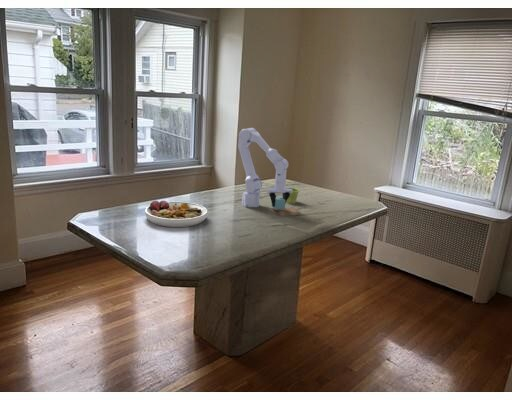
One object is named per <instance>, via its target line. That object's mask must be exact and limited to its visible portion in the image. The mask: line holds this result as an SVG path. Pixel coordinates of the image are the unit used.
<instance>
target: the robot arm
mask: <svg viewBox="0 0 512 400" xmlns="http://www.w3.org/2000/svg"><path fill="white" fill-rule="evenodd" d="M252 143H256V144H257V145H258V146H259V147H260V148H261V150H263V151H264V152H265V156H266V158H268V159H269V160H270V162H271V163H272V164H273V165H274V168H275V179H274V188H268V189H266V190H265V191H266V193H265V194H267V195H268V196H269V197H270V200H271V201H270V202H271V207H272V206H273V207H275V199H276V197H277V194H282V198H283V199H285V205H286V204H287V203H286V201H287V199H288V198H289V196H290V194H289V193H292V191H293V190H292V189H285V188H286V185H287V184H286V183H287V171H288V170H287V169H288V168H289V161H288V159H286V158H284V156H282V155H281V154H280V153H279V152H278V150H277V149H275V148H271V147H270V146H269V144H268V143H267V142H266V140H265V139H264V138H263V136H261V134H260V132H259V131H257V130H256V128H254V127H248V128H242V129H241V130H240V131H239V133H238V144H237V147H238V151H239V155H240V158H241V162H242V164H243V165H242V166H243V169H244V173H245V179H244V182H245V187H244V188H245V190H246V191H243V192H242V194H241V206H243V207H244V208H257V207H259V206H260V195H261V189H262V188H263V183H262V180H261V179H260V177H259V175H258V174H257V173H256V169H255V167H254V163H253V159H252V157H251V156H252V155H251V151H250V147H249V146H250V144H252ZM273 207H272V208H273Z"/></svg>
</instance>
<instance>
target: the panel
mask: <svg viewBox="0 0 512 400" xmlns="http://www.w3.org/2000/svg"><path fill="white" fill-rule="evenodd" d="M268 209H269V210H270V211H271V212H273V213H274V214H275V215H276V216H295V215H297V216H298V215H303V213H302V212H301V211H299V210H297V208H295V207H293V206H292V207H285V209H281V210H280V211H276V209H275V208H273V207H272V208H271V207H270V208H269V207H268Z"/></svg>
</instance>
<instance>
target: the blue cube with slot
mask: <svg viewBox="0 0 512 400" xmlns="http://www.w3.org/2000/svg"><path fill="white" fill-rule="evenodd" d="M271 207H272V208H275V209H285V208H286V204H285V199H283V196H281V197H279V196H278V197H277V196H276V199H275V207H273V206H272V205H271Z"/></svg>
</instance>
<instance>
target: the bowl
mask: <svg viewBox="0 0 512 400" xmlns="http://www.w3.org/2000/svg"><path fill="white" fill-rule="evenodd" d="M144 213H145V217H146V219H148V220H149V222H151V223H152V224H155V225H158V226H160V227H161V226H162V227H166V228H187V227H193V226H196V225H199V224H200V223H202V222H204V221H205V220H206V218H207V217H208V209H207V208H206V207H205V206H203V205H201V204H197V203H193V202H185V201H166V200H160V201H158V200H153V201H152V202H151V203H149V205H148V206H146V208H145V210H144Z"/></svg>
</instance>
